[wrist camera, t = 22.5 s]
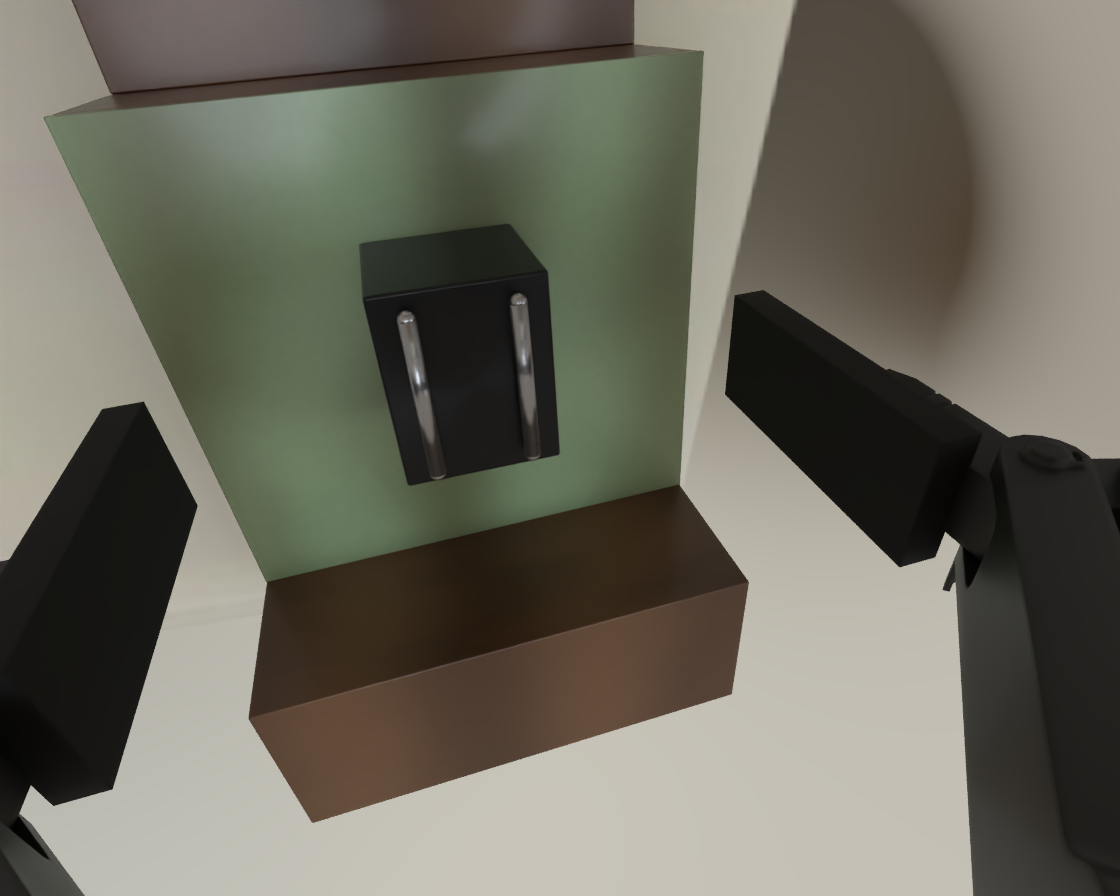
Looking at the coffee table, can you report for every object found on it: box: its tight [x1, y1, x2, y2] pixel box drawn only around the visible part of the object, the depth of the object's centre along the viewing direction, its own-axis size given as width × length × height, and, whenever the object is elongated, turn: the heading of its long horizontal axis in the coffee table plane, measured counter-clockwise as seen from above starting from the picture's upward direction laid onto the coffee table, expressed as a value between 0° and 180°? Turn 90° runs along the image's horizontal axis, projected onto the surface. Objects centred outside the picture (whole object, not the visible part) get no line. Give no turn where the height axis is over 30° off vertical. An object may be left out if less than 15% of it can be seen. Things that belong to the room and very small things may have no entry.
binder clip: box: [359, 224, 560, 486], centre depth 16 cm, size 4×5×4 cm
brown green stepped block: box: [44, 0, 749, 822], centre depth 20 cm, size 15×26×13 cm, turn 4°
